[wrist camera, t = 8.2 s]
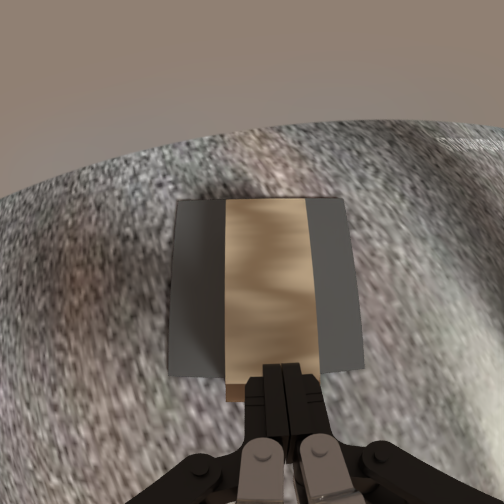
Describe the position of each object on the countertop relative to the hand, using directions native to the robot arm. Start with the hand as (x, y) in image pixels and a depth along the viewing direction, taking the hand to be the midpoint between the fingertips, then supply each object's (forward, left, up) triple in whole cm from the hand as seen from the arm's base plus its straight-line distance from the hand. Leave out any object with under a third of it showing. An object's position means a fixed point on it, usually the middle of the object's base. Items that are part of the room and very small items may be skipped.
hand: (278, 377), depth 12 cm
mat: (0, -7, -9) cm, 11 cm away
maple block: (0, +1, -6) cm, 6 cm away
